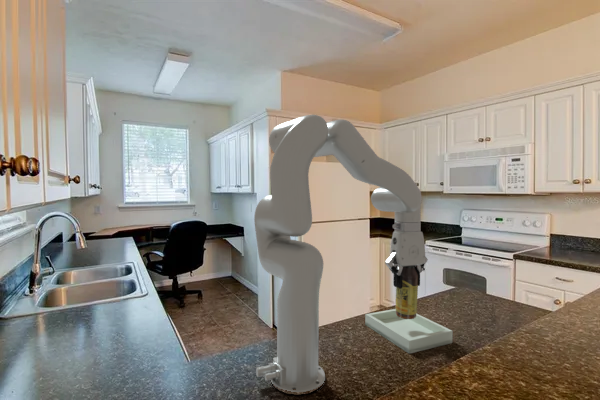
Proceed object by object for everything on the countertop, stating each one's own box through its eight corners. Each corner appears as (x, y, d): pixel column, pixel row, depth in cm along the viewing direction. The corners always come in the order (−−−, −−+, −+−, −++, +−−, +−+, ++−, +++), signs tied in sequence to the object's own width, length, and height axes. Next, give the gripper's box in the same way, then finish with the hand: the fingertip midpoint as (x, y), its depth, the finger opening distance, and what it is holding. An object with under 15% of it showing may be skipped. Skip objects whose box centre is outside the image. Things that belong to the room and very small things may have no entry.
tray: (409, 353, 83) (409, 340, 83) (365, 324, 101) (365, 314, 101) (452, 342, 89) (452, 330, 89) (403, 317, 108) (403, 307, 108)
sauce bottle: (391, 313, 97) (391, 250, 97) (407, 311, 100) (408, 249, 99) (405, 322, 91) (406, 254, 91) (422, 319, 93) (423, 253, 93)
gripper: (392, 230, 88) (392, 293, 88) (438, 227, 95) (437, 286, 95) (376, 227, 95) (376, 285, 95) (419, 225, 102) (419, 279, 102)
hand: (406, 285), depth 95 cm, fingers closed on sauce bottle, 6 cm apart
